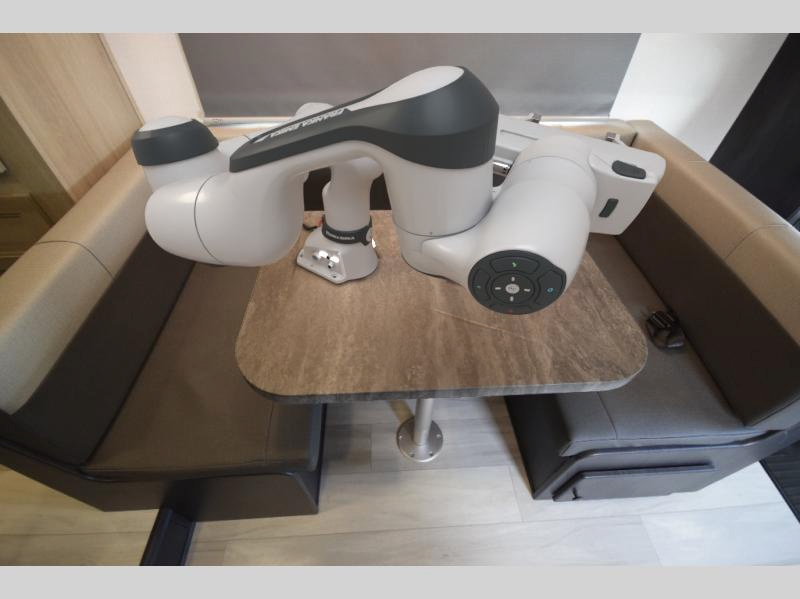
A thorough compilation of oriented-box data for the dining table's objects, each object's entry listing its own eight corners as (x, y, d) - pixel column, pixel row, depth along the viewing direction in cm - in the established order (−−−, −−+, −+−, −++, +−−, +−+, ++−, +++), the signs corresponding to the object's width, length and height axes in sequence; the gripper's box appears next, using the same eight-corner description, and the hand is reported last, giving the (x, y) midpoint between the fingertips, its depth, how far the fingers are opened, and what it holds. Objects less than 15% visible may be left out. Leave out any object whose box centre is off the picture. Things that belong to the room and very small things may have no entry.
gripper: (451, 182, 41) (486, 132, 49) (636, 240, 36) (641, 174, 44) (461, 128, 36) (498, 82, 44) (677, 187, 31) (675, 124, 39)
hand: (571, 129), depth 44 cm, fingers open, 8 cm apart
